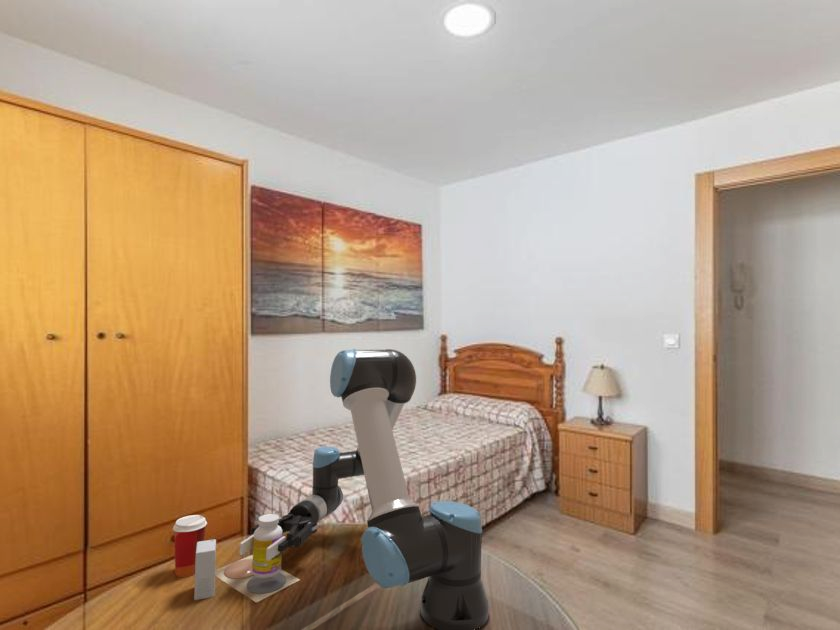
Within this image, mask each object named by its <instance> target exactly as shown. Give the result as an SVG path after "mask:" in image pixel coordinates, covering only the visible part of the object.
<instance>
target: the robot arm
mask: <svg viewBox="0 0 840 630" xmlns="http://www.w3.org/2000/svg"><path fill="white" fill-rule="evenodd" d="M415 369H416V368H415V366H414V364H413V362H412V361H411V359H410V358H409V357H408V356H407V355H405V354H404V353H402V351H398V350H396V349H387V348H386V349H356V348H353V349H343V350H340V351H339V352H338V353H337V354H335V357H334V358H333V362H332V364H331V370H330V377H329V386H330V391H331V394H332V396H333V397H336V398H338V399H339V398H341V401H342V406H343V407H344V408H345V409H346V410H348V411H350V414H351V418H352V422H353V429H354V433H355V436H356V442H357V448H356V450H354V451H346V452H345V451H344V452H340V451H339V448H338V447H335V446H321V447H318V448H317V449H315V450H314V452H313V458H312V459H313V460H312V491H311V493H312V494H311V495H309V496H307V497H306V498H304V499H303V500H301V501H300V502H299V503H296V504H295V505H293V506H292V507H291V509H290V510H289V512H288V514H285V515H283V516H281V517H279V522H278V525H279V526H280V527H281V528H282V534H284V533H286V532H288V533H286V536H284V535H282V537H281V538H280V539H279V540H277V541H276V542H274V543H273V544H272V545H270V546H269V547H268V548H267V550H266V560H267V561H269V560H271V559H272V558H273V557H275V556H276V555H277V554H278V553H280V552H285V550H287V549H288V548H291V547H292V546H294V548H296V549H297V548H300V546H302V545H303V544H304V543H305V542H306V541H307V540H308V539H309V538H310V537H311V536H312V535H313V534H315V533H317V532H318V524H319V523H320V522H321V521H323V519H325V518H327V517H328V516H329V515H330V514H332V513H333V512H335V511H336V510H337V509H338V508H339V507H340V505H342V503H343V500H344V492H343V490H342V488H341V487H340V486H339V480H341V479H347V478H353V477H359V476H364V479H365V484H366V488H367V494H368V497H369V502H370V508H371V513H370V515H369V516H368V519H367V520H366V523H367V528H366V529H365V530H364V531H363V533H362V536H361V544H362V545H361V552H362V558H363V561H364V564H365V566H366V570H367V571H368V573H369V575H370V577H371V578H372V580H374V582H375V583H376V584H377V585H378V586H379V587H381V588H383V589H392V588H396V587H403V586H406V585H408V584H410V583H413V582H416V581H419V580H423V579H426V578H427V579H426V582H425V583H426V584H425V586H424V589H423V591H422V595H421V599H420V614H421V617H422V619H423V621H425V623H426V624H428V625H429V626H430V627H432V628H433V627H434V629H435V628H436V629H435V630H438V629H439V630H474V629H477V630H479V629H480V628H479V627H481V626H482V627H484V626H485V624H486V623H487V621H488V620H489V615H490V614H489V610H490V609H489V601H488V599H487V594H486V591H485V586H484V584H483V580H482V541H483V539H482V537H483V536H482V535H483V528H482V526H483V525H482V516H481V514H480V513H479V511H478V510H477V509H475V508H474V507H472V506H470V505H468V504H465V503H460V502H456V501H450V500H449V501H448V500H440V501H435V502H433V503H432V504H431V505H430V506H429V509H428V510H429V513H428V514H425V515H422V513H421V509H420V506H419V504H417V503H415V502H414V501H412V500H411V499H410V498H411V497H410V495H409V494H410V493H409V490H408V487H407V482H406V479H405V475H404V471H403V467H402V464H401V460H400V455H399V452H398V448H397V444H396V440H395V436H394V433H393V429H394V428H395V425H396V423H397V421H398V418H399V416H400V415H401V412H402V410H403V408H404V406H405V404H407V403H410V401H411V399H412V397H413V395H414V394H415V393H414V392H415V389H416V386H417V375H416V370H415ZM258 527H259V524H258V523H257V524H256V525H253V526H252V527H250V534H249V536H247V537H246V538H245V539H243V540H242V541H241V542H240V543H239V552H238V553H239V554H238V555H239V556H244V555H245V554H247V553H248V552H249V551H251V550H253V538H254V532H255V530H256V529H257V528H258ZM482 627H481V628H482ZM478 628H479V629H478Z"/></svg>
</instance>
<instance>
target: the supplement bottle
mask: <svg viewBox="0 0 840 630" xmlns="http://www.w3.org/2000/svg"><path fill="white" fill-rule="evenodd" d="M279 518H280V517H279V515H278V514H275V513H267V514H263V515H261V516H259V517H258V520H257V521H258V522H257V525H258V524H259V527H258V528H257V529H256V530H255V532H254V538H253V548H252V555H253V563H252V573H253V575H254V576H256V577H259V578H268V577H272V576H274V575H276V574H277V573H279V571H280V570H282V558H283V557H282V554H283V553H282V552H283V551H282V552H280V553H278V554H277V555H276V556H275V557H273V558H272V559H271V560H269V561H267V560H266V550H267V548H268V547H269V546H270V545H272V544H273V543H274V542H276V541H277V540H279V539H280V538H281V537H283V533H282V528H281V527H280V526H279V525H278V522H279Z"/></svg>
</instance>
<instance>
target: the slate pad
mask: <svg viewBox="0 0 840 630" xmlns="http://www.w3.org/2000/svg"><path fill="white" fill-rule="evenodd" d="M285 583H286V577H285V576H284V575H283V574H281V573H277V574H276V575H274V576H272V577H268V578H259V577H256V576H254V577H252V578H251V579H250V580H249V581H248V582H247V589H248V591H250V592H252V593H255V594H266V593H271V592H274V591H277V590H279V589H280V588H282V587H283V586H284V585H285Z"/></svg>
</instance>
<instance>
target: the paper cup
mask: <svg viewBox="0 0 840 630" xmlns="http://www.w3.org/2000/svg"><path fill="white" fill-rule="evenodd" d="M207 525H208V522H207V520H206V517H204V516H203V515H201V514H193V515H192V514H191V515H186V516H182V517H180V518H178V519H177V520H176V521H175V523H174V525H173V527H172V531H173V532H174V533H173V534H174V565H175V566H174V570H175V572H174V573H175V575H176V576H177V577H178V578H179V577H180V578H187V577H191V576H195V561H196V546H197V542H200V541H205V536H206V535H205V533H206V526H207Z"/></svg>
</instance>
